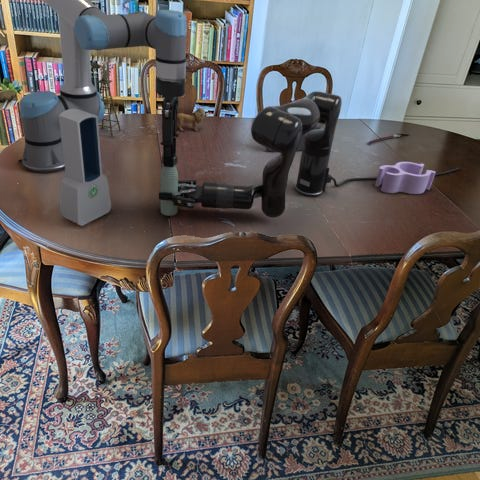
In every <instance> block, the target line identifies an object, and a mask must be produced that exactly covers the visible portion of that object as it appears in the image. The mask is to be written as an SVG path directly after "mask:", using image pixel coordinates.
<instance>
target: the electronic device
mask: <svg viewBox="0 0 480 480" xmlns="http://www.w3.org/2000/svg"><path fill="white" fill-rule="evenodd" d="M59 123H60V131H61V139H62V147H63V156H64V164H65V169H64V171H65V176H64V178H62V180H61V184H60V185H61V187H60V205H59V210H60V213H61V215H62V217H63V218H65V219H66V220H69V221H70V222H72V223H74V224H76V225H78V226H81V227H83V226H85V225H86V224H87V225H88V224H90V223H91V222H92V221H95V220H97V219H98V218H101V217H103V216H104V215H106V214H108V213H110V211H111V210H112V201H111V195H110V188H109V182H108V176H107V175H105V174H104V173H103V167H102V156H101V142H100V126H98V125H99V124H98V116H96V115H94V114H91V113H88V112H85V111H82V110H79V109H69V110H66V111H64V112H62V113H61V114H60V115H59Z"/></svg>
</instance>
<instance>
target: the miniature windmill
mask: <svg viewBox="0 0 480 480" xmlns="http://www.w3.org/2000/svg"><path fill="white" fill-rule="evenodd" d="M101 60H102V61H100V63H101V64H99V63H96V62H91V66H92V67H91V68H92V70H99V71H100V75H101V79H99V80H98V81H97V80H96V83H98V84H100V86H99V91H98V92H99V93H100V94H101V95H102V98H103V100H102V101H103V102H104V103H106V106H104V107H105V110H107V112H105V111H104V115H108V119H106V118H104V117H105V116H104V117H103V119H102V121H101V124H98V126H99V127H101V128H102V129H104V128H108V129H109V130H110V136H111V137H110V138H112V137H114V133H113V128H114V127H115V126H117V128H118V131H122V129H121V125H120V121H119V118H118V115H117V109H116V107H115V103H114V99H113V96H112V93H111V87H110V85H109V84H111V83H112V82H113V80H110V79H109V78H110V76H111V73H112V67H111V66H112V64H111V62H112V61H111V57H109V55H107V56H105V55H102V58H101ZM108 79H109V80H108ZM108 93H109V97H108ZM105 99H106V100H105ZM109 102H111V105H112V108H111V107H110V106H109ZM111 110H112V111H111ZM113 113H114V116H115V120H113V119H112V118H111V114H113ZM104 121H107V122H108V123H109V126H108V125H104V124H105V123H104ZM112 122H114V123H115V124H113V125H112Z"/></svg>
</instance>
